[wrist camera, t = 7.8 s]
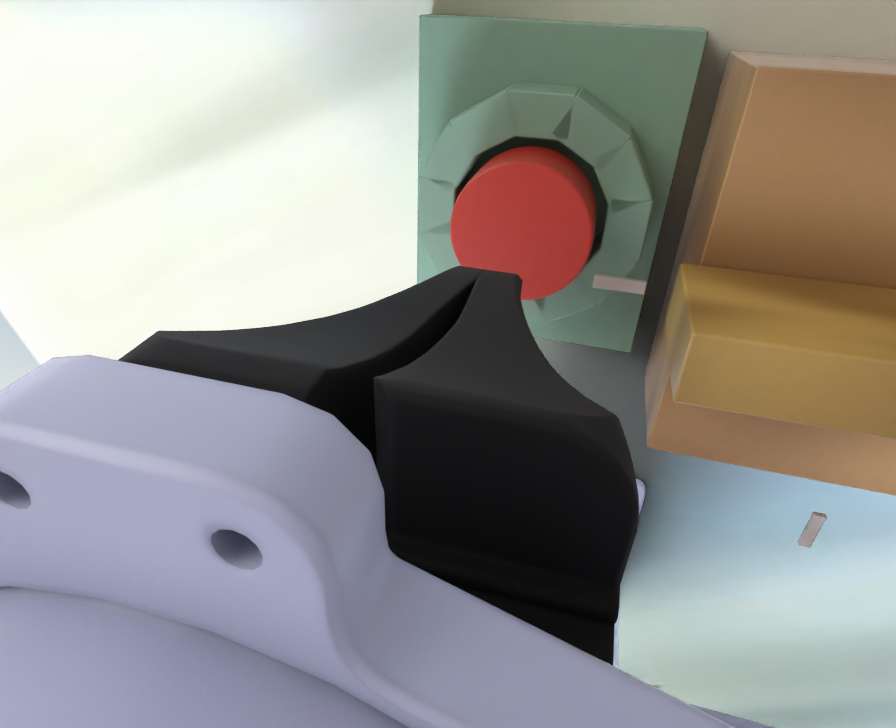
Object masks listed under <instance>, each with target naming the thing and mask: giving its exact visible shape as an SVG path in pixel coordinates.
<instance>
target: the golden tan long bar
mask: <svg viewBox="0 0 896 728" xmlns="http://www.w3.org/2000/svg"><path fill="white" fill-rule="evenodd" d="M665 326H666V336H667V346H668V356H669V367H670V377H671V387H672V397H673V401H674V402H676V403H682V404H688V405H694V406H700V407H706V408H711V409H717V410H723V411H729V412H735V413H741V414H747V415H753V416H759V417H765V418H771V419H777V420H783V421H788V422H794V423H800V424H806V425H812V426H818V427H824V428H830V429H836V430H842V431H848V432H854V433H860V434H865V435H871V436H877V437H883V438H889V439H895V440H896V289H888V288H880V287H872V286H864V285H856V284H847V283H839V282H831V281H823V280H815V279H807V278H798V277H790V276H782V275H774V274H766V273H757V272H749V271H741V270H733V269H725V268H717V267H708V266H700V265H692V264H684V263H683V264H680V266H679V269H678V273H677V277H676V280H675V284H674V288H673V292H672V296H671V300H670V304H669V307H668V311H667V315H666V319H665Z"/></svg>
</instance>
